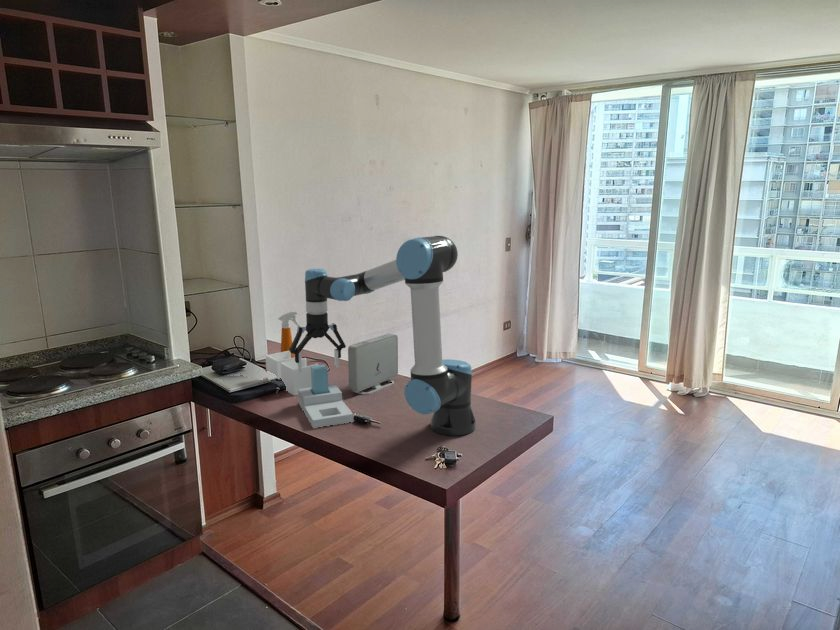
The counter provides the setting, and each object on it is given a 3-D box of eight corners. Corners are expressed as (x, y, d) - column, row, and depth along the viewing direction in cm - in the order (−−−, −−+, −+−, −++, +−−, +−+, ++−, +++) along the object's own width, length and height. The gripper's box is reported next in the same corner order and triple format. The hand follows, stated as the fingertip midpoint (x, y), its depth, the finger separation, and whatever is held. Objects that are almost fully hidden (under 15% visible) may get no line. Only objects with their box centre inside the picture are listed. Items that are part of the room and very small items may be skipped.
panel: (353, 422, 195) (353, 405, 194) (313, 428, 189) (312, 411, 188) (335, 398, 216) (334, 384, 215) (298, 404, 211) (298, 389, 210)
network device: (360, 398, 217) (359, 348, 213) (344, 393, 222) (342, 344, 218) (402, 381, 237) (401, 335, 233) (386, 376, 242) (385, 331, 238)
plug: (328, 399, 207) (327, 368, 205) (315, 401, 205) (313, 370, 203) (324, 394, 213) (323, 363, 210) (311, 396, 211) (310, 365, 208)
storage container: (266, 380, 238) (265, 355, 236) (290, 374, 245) (289, 350, 243) (294, 396, 220) (293, 369, 217) (319, 390, 226) (318, 364, 224)
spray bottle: (301, 370, 250) (298, 312, 244) (277, 370, 251) (274, 312, 245) (305, 366, 257) (303, 309, 251) (282, 365, 258) (279, 309, 252)
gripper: (347, 307, 210) (348, 362, 214) (279, 312, 200) (282, 369, 205) (353, 311, 203) (354, 367, 208) (283, 317, 193) (285, 375, 198)
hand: (318, 368), depth 206 cm, fingers open, 13 cm apart
